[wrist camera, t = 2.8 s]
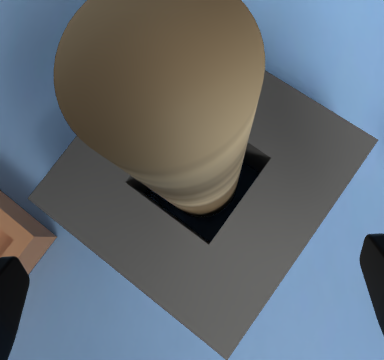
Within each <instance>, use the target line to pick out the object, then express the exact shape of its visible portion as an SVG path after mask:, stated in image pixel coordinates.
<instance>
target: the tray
mask: <svg viewBox="0 0 384 360" xmlns="http://www.w3.org/2000/svg"><path fill="white" fill-rule="evenodd" d="M56 238H57V236H55V235H54V234H53V233H52V232H50V231H49V230H48V229H47V228H46V227H44V226H43V225H42V224H41V223H40V222H38V221H37V220H36V219H35V218H33V217H32V216H31V215H30V214H29V213H27V212H26V211H25V210H24V209H22V208H21V207H20V206H19V205H18V204H16V203H15V202H14V201H13V200H12V199H10V198H9V197H8V196H7V195H5V194H4V193H3V192H2V191H1V190H0V257H8V256H16V257H17V258H18V259H19V260H20V262H21V263H22V265H23V267H24V268H25V270H26V272H27V273H28V274H29V273H30V272H31V270H32V269H33V268H34V266H35V265H36V264H37V263H38V261H39V260H40V259H41V257H42V256H43V255H44V253H45V252H46V251H47V249H48V248H49V247H50V246H51V244H52V243H53V242H54V240H55V239H56Z"/></svg>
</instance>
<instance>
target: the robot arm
mask: <svg viewBox="0 0 384 360" xmlns="http://www.w3.org/2000/svg"><path fill="white" fill-rule="evenodd" d="M360 266H361V269H362V272H363V275H364V279H365V282H366V285H367V288H368V291H369V295H370V298H371V301H372V304H373V307H374V311H375V314H376V317H377V320H378V323H379V325H380V328H381V330H382V333H383V335H384V234H369V235H367V236H366V237H365V239H364V243H363V247H362V250H361V254H360ZM28 287H29V275H28V273H27V272H26V270H25V268H24V267H23V265H22V263H21V262H20V260H19V259H18V258H17V257H16V256H8V257H0V360H8V357H9V354H10V352H11V349H12V346H13V343H14V340H15V337H16V333H17V330H18V326H19V322H20V318H21V314H22V311H23V307H24V303H25V299H26V295H27V291H28Z"/></svg>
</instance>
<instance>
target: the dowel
mask: <svg viewBox="0 0 384 360" xmlns="http://www.w3.org/2000/svg"><path fill="white" fill-rule="evenodd" d="M264 72H265V52H264V44H263V40H262V37H261V33H260V30H259V28H258V25H257V23H256V21H255V19H254V17H253V16H252V14H251V12H250V11H249V9H248V8H247V7H246V5H245V4H244V3H243V2H242V1H241V0H87V1H86V2H85V3H84V4H83V5H82V6H81V7H80V8H79V10H78V11H77V12H76V13H75V15H74V16H73V17H72V19H71V20H70V22H69V23H68V25H67V27H66V29H65V31H64V32H63V35H62V37H61V40H60V42H59V45H58V49H57V52H56V56H55V63H54V87H55V93H56V97H57V101H58V104H59V107H60V109H61V112H62V114H63V116H64V118H65V120H66V121H67V123H68V124H69V126H70V128H71V129H72V130H73V131H74V133H75V134H76V135H77V136H78V137H79V138H80V139H81V140H82V141H83V142H84V143H85V144H86V145H88V146H89V147H90V148H91V149H93V150H94V151H96V152H97V153H99V154H100V155H101V156H103V157H104V158H106V159H107V160H109V161H110V162H112V163H113V164H115V165H116V166H117V167H119V168H120V169H122V170H123V171H125V172H126V173H128V174H129V175H131V176H132V177H133V178H135V179H136V180H138V181H139V182H141V183H142V184H144V185H145V186H147V187H148V188H150V189H151V190H152V191H154V192H155V193H157V194H158V195H160V196H161V197H163V198H164V199H166V200H167V201H168V202H170V203H171V204H173V205H174V206H176V207H177V208H179V209H180V210H182V211H183V212H185V213H186V214H188V215H191V216H194V217H201V218H204V217H211V216H214V215H216V214H218V213H220V212H222V211H223V210H224V209H225V208H226V207H227V206H228V205H229V204H230V203H231V201H232V199H233V197H234V194H235V191H236V187H237V183H238V179H239V175H240V171H241V167H242V163H243V159H244V155H245V151H246V147H247V143H248V139H249V135H250V132H251V128H252V124H253V120H254V116H255V112H256V108H257V104H258V100H259V96H260V92H261V88H262V84H263V78H264Z"/></svg>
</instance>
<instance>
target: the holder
mask: <svg viewBox="0 0 384 360" xmlns="http://www.w3.org/2000/svg"><path fill="white" fill-rule="evenodd" d="M377 141H378V139H376V138H374V137H373V136H371V135H369V134H368V133H366V132H365V131H363V130H361V129H360V128H358V127H356V126H355V125H353V124H352V123H350V122H348V121H347V120H345V119H343V118H342V117H340V116H338V115H337V114H335V113H334V112H332V111H330V110H329V109H327V108H325V107H324V106H322V105H321V104H319V103H317V102H316V101H314V100H312V99H311V98H309V97H308V96H306V95H304V94H303V93H301V92H299V91H298V90H296V89H294V88H293V87H291V86H290V85H288V84H286V83H285V82H283V81H281V80H280V79H278V78H277V77H275V76H273V75H272V74H270V73H268V72H267V71H265V72H264V78H263V84H262V88H261V92H260V96H259V100H258V104H257V108H256V112H255V116H254V120H253V124H252V128H251V132H250V135H249V139H248V143H247V147H246V151H245V155H244V159H243V162H245V163H246V164H248V165H249V166H251V167H252V168H254V169H255V170H257V171H258V172H260V174H259V176H258V177H257V178H256V180H255V181H254V183H253V184H252V185H251V187H250V188H249V190H248V191H247V192H246V194H245V195H244V196H243V198H242V199H241V201H240V202H239V203H238V205H237V206H236V208H235V209H234V210H233V212H232V213H231V215H230V216H229V217H228V219H227V220H226V222H225V223H224V224H223V226H222V227H221V229H220V230H219V231H218V233H217V234H216V236H215V237H214V238H213V240H212V241H211V243H210V242H209V241H208V240H206V239H205V238H204V237H202V236H201V235H199V234H198V233H197V232H195V231H194V230H193V229H191V228H190V227H189V226H187V225H186V224H185V223H183V222H182V221H181V220H179V219H178V218H177V217H175V216H174V215H173V214H171V213H170V212H169V211H167V210H166V209H165V208H163V207H162V206H161V205H159V204H158V203H157V202H155V201H154V200H153V199H151V198H150V197H148V196H147V195H146V194H144V193H145V191H146V190H147V189H148V187H147V186H145V185H144V184H142V183H141V182H139V181H138V180H136V179H135V178H133V177H132V176H131V175H129V174H128V173H126V172H125V171H123V170H122V169H120V168H119V167H117V166H116V165H115V164H113V163H112V162H110V161H109V160H107V159H106V158H104V157H103V156H101V155H100V154H99V153H97V152H96V151H94V150H93V149H91V148H90V147H89V146H88V145H86V144H85V143H84V142H83V141H82V140H81V139H80V138H79V137H78V136H76V137H75V139H74V140H73V141H72V143H71V144H70V145H69V146H68V148H67V149H66V150H65V151H64V153H63V154H62V155H61V157H60V158H59V159H58V160H57V162H56V163H55V164H54V165H53V167H52V168H51V169H50V171H49V172H48V173H47V174H46V176H45V177H44V178H43V180H42V181H41V182H40V183H39V185H38V186H37V187H36V188H35V190H34V191H33V192H32V194H31V195H30V196H29V197H28V199H29V200H30V201H31V202H32V203H34V204H35V205H36V206H37V207H39V208H40V209H41V210H42V211H43V212H45V213H46V214H47V215H48V216H50V217H51V218H52V219H53V220H55V221H56V222H57V223H58V224H59V225H61V226H62V227H63V228H64V229H66V230H67V231H68V232H69V233H71V234H72V235H73V236H74V237H76V238H77V239H78V240H79V241H80V242H82V243H83V244H84V245H85V246H87V247H88V248H89V249H90V250H92V251H93V252H94V253H95V254H96V255H98V256H99V257H100V258H101V259H103V260H104V261H105V262H106V263H108V264H109V265H110V266H111V267H112V268H114V269H115V270H116V271H117V272H119V273H120V274H121V275H122V276H124V277H125V278H126V279H127V280H128V281H130V282H131V283H132V284H133V285H135V286H136V287H137V288H138V289H140V290H141V291H142V292H143V293H144V294H146V295H147V296H148V297H149V298H151V299H152V300H153V301H154V302H156V303H157V304H158V305H159V306H160V307H162V308H163V309H164V310H165V311H167V312H168V313H169V314H170V315H172V316H173V317H174V318H175V319H177V320H178V321H179V322H180V323H181V324H183V325H184V326H185V327H186V328H188V329H189V330H190V331H191V332H193V333H194V334H195V335H196V336H197V337H199V338H200V339H201V340H202V341H204V342H205V343H206V344H207V345H209V346H210V347H211V348H212V349H213V350H215V351H216V352H217V353H218V354H220V355H221V356H222V357H223V358H225V359H226V360H228V358H229V357H230V355H231V354H232V352H233V351H234V350H235V348H236V347H237V345H238V344H239V342H240V341H241V339H242V338H243V336H244V335H245V334H246V332H247V331H248V329H249V328H250V326H251V325H252V323H253V322H254V320H255V319H256V317H257V316H258V315H259V313H260V312H261V310H262V309H263V307H264V306H265V304H266V303H267V301H268V300H269V299H270V297H271V296H272V294H273V293H274V291H275V290H276V288H277V287H278V285H279V284H280V283H281V281H282V280H283V278H284V277H285V275H286V274H287V272H288V271H289V269H290V268H291V267H292V265H293V264H294V262H295V261H296V259H297V258H298V256H299V255H300V253H301V252H302V251H303V249H304V248H305V246H306V245H307V243H308V242H309V240H310V239H311V237H312V236H313V234H314V233H315V232H316V230H317V229H318V227H319V226H320V224H321V223H322V221H323V220H324V218H325V217H326V216H327V214H328V213H329V211H330V210H331V208H332V207H333V205H334V204H335V202H336V201H337V200H338V198H339V197H340V195H341V194H342V192H343V191H344V189H345V188H346V186H347V185H348V184H349V182H350V181H351V179H352V178H353V176H354V175H355V173H356V172H357V170H358V169H359V167H360V166H361V165H362V163H363V162H364V160H365V159H366V157H367V156H368V154H369V153H370V151H371V150H372V149H373V147H374V146H375V144H376V143H377Z"/></svg>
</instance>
